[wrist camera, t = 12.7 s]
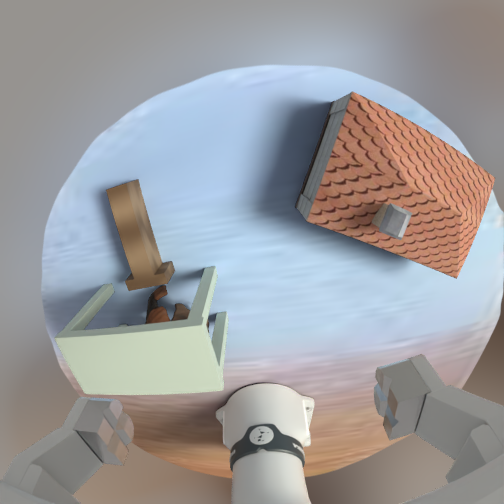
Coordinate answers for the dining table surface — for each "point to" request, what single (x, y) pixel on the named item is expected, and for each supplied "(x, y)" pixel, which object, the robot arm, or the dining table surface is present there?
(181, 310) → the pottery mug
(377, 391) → the robot arm
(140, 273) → the push stick
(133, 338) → the footstool
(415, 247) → the model house
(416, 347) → the dining table surface
